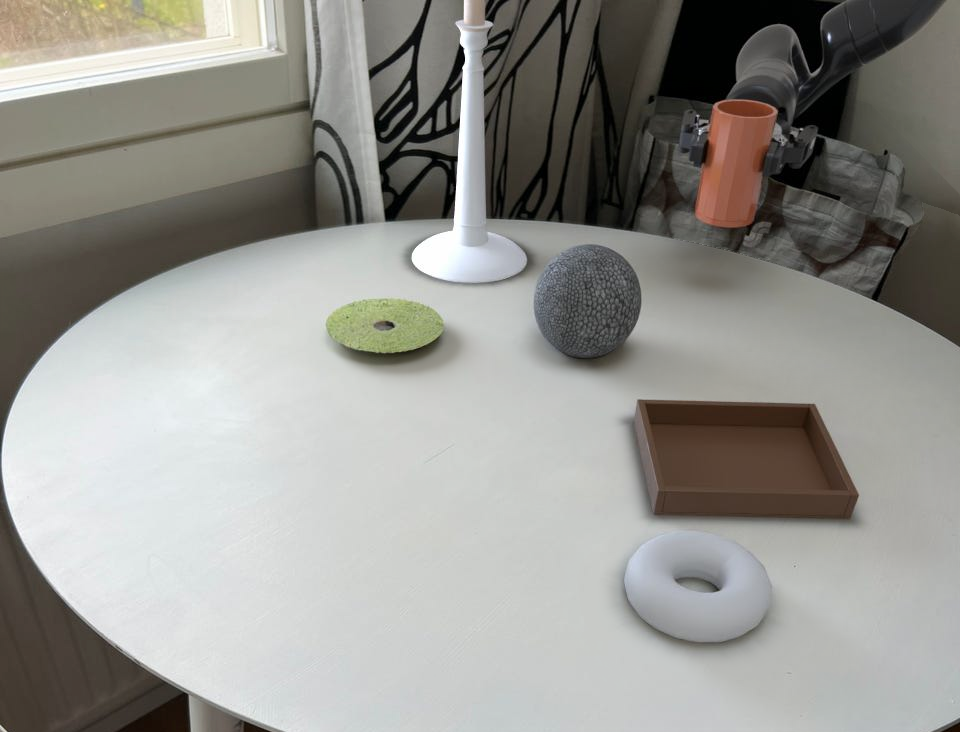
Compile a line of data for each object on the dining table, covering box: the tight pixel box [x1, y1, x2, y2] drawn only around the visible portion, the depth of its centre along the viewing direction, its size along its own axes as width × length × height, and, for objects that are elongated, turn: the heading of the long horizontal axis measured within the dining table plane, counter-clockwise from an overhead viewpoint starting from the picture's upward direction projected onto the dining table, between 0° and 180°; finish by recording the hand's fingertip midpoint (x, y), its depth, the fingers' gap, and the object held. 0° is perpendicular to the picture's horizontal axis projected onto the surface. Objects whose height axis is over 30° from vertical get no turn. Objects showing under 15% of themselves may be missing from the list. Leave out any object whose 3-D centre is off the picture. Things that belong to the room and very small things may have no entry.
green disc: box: [325, 297, 444, 354], centre depth 91 cm, size 11×11×2 cm
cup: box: [694, 99, 778, 228], centre depth 94 cm, size 6×6×10 cm
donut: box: [623, 530, 773, 643], centre depth 65 cm, size 10×4×10 cm
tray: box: [633, 398, 860, 520], centre depth 77 cm, size 15×13×3 cm
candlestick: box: [411, 0, 528, 284], centre depth 95 cm, size 13×13×30 cm
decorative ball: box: [533, 243, 642, 359], centre depth 88 cm, size 10×10×10 cm
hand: (733, 161), depth 91 cm, fingers closed on cup, 6 cm apart
